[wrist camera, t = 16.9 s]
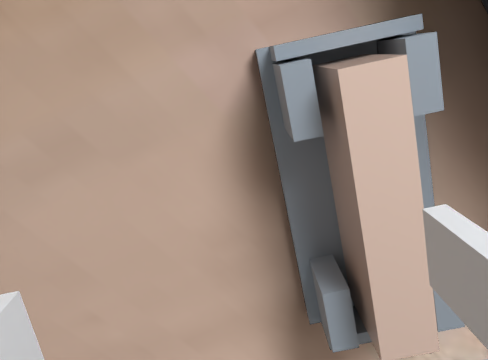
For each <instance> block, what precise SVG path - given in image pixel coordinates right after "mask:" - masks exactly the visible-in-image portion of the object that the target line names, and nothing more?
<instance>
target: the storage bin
mask: <svg viewBox="0 0 488 360" xmlns="http://www.w3.org/2000/svg"><path fill="white" fill-rule="evenodd" d="M481 1H482V3H483V5H484V7H485V9H486V11H487V13H488V0H481Z"/></svg>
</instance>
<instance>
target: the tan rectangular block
mask: <svg viewBox="0 0 488 360" xmlns="http://www.w3.org/2000/svg"><path fill="white" fill-rule="evenodd" d="M312 68H313V74H314V80H315V86H316V92H317V98H318V104H319V110H320V116H321V122H322V128H323V134H324V141H325V147H326V153H327V159H328V165H329V171H330V178H331V184H332V190H333V196H334V202H335V208H336V214H337V220H338V226H339V232H340V238H341V244H342V250H343V256H344V262H345V268H346V274H347V280H348V286H349V289H350V295H351V299H352V301H353V303H354V305H355V307H356V309H357V311H358V313H359V316H360V318H361V320H362V322H363V324H364V326H365V328H366V330H367V332H368V334H369V336H370V338H371V341H372V343H373V345H374V347H375V349H376V351H377V353H378V355H379V357H380V359H381V360H397V359H402V358H407V357H412V356H417V355H422V354H428V353H433V352H438V351H440V349H439V340H438V331H437V322H436V313H435V304H434V295H433V288H432V287H431V286H430V283H429V273H428V262H427V252H426V242H425V231H424V221H423V211H422V209H424V205H423V196H422V187H421V178H420V169H419V160H418V151H417V142H416V133H415V124H414V115H413V106H412V97H411V88H410V79H409V70H408V61H407V55H396V54H362V55H357V56H352V57H348V58H343V59H338V60H334V61H329V62H325V63H320V64H315V65H312Z"/></svg>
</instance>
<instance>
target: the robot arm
mask: <svg viewBox="0 0 488 360" xmlns="http://www.w3.org/2000/svg"><path fill="white" fill-rule="evenodd" d="M422 211H423V221H424V231H425V242H426V252H427V262H428V273H429V283H430V286H431V287H432V288H433V289H434V291H435V292H436V293H437V294H438V295H439V296H440V297H441V298H442V299H443V301H444V302H445V303H446V304H447V305H448V306H449V307H450V308H451V309H452V311H453V312H454V313H455V314H456V315H457V316H458V317H459V318H460V319H461V320H462V322H463V323H464V324H465V325H466V326H467V327H468V328H469V329H470V330H471V332H472V333H473V334H474V335H475V336H476V337H477V338H478V339H479V340H480V342H481V343H482V344H483V345H484V346H485V347H486V348H487V349H488V232H487V231H485V230H484V229H482V228H481V227H479V226H478V225H476V224H475V223H473V222H472V221H470V220H469V219H467V218H466V217H464V216H463V215H461V214H460V213H458V212H457V211H456V210H454V209H453V208H451V207H450V206H448V205H447V204H444V205H439V206H434V207H429V208H424V209H422ZM0 360H44V357H43V354H42V352H41V349H40V346H39V344H38V341H37V338H36V335H35V333H34V330H33V327H32V325H31V322H30V319H29V316H28V314H27V311H26V308H25V306H24V303H23V300H22V297H21V295H20V292H19V291H16V292H11V293H6V294H1V295H0Z"/></svg>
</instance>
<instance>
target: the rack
mask: <svg viewBox="0 0 488 360" xmlns="http://www.w3.org/2000/svg"><path fill="white" fill-rule="evenodd" d="M422 29H424V27H423V18H422V14H417V15H411V16H407V17H402V18H397V19H393V20H388V21H384V22H379V23H375V24H370V25H366V26H361V27H357V28H352V29H347V30H343V31H338V32H334V33H329V34H325V35H320V36H316V37H311V38H307V39H302V40H297V41H293V42H288V43H284V44H279V45H275V46H270V47H266V48H261V49H257V50H255V52H256V57H257V62H258V67H259V72H260V77H261V82H262V87H263V92H264V97H265V102H266V107H267V112H268V118H269V123H270V128H271V133H272V138H273V143H274V148H275V153H276V158H277V163H278V168H279V173H280V178H281V183H282V188H283V193H284V198H285V203H286V209H287V214H288V219H289V224H290V229H291V234H292V239H293V244H294V249H295V254H296V259H297V264H298V269H299V274H300V279H301V284H302V289H303V294H304V300H305V305H306V310H307V315H308V318H309V322H310V324H314V323H319V322H321V323H322V326H323V329H324V332H325V335H326V338H327V341H328V344H329V347H330V350H332V351H333V352H338V351H343V350H348V349H353V348H359V344H364V343H369V342H372V341H371V338H370V336H369V334H368V332H367V330H366V328H365V326H364V324H363V322H362V320H361V318H360V316H359V313H358V311H357V309H356V307H355V305H354V303H353V301H352V299H351V295H350V289H349V286H348V280H347V274H346V268H345V262H344V256H343V250H342V244H341V238H340V232H339V226H338V220H337V214H336V208H335V202H334V196H333V190H332V184H331V178H330V171H329V165H328V159H327V153H326V147H325V141H324V134H323V128H322V122H321V116H320V110H319V104H318V98H317V92H316V86H315V80H314V74H313V68H312V65H315V64H320V63H325V62H329V61H334V60H338V59H343V58H348V57H352V56H357V55H362V54H396V55H407V61H408V70H409V79H410V88H411V97H412V106H413V115H414V124H415V133H416V142H417V151H418V160H419V169H420V178H421V187H422V196H423V205H424V208H429V207H434V206H435V205H434V196H433V186H432V177H431V167H430V158H429V149H428V139H427V130H426V120H425V114H429V113H433V112H438V111H443V110H444V103H443V92H442V82H441V71H440V61H439V50H438V40H437V32H429V33H419V34H416V31H417V30H422ZM433 295H434V304H435V313H436V322H437V331H438V332H440V331H445V330H450V329H456V328H461V327H465V325H464V323H463V322H462V320H461V319H460V318H459V317H458V316H457V315H456V314H455V313H454V312H453V311H452V309H451V308H450V307H449V306H448V305H447V304H446V303H445V302H444V301H443V299H442V298H441V297H440V296H439V295H438V294H437V293H436V292H435V291H434V289H433Z"/></svg>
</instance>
